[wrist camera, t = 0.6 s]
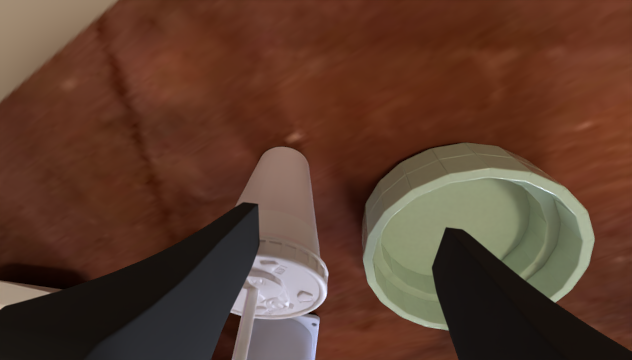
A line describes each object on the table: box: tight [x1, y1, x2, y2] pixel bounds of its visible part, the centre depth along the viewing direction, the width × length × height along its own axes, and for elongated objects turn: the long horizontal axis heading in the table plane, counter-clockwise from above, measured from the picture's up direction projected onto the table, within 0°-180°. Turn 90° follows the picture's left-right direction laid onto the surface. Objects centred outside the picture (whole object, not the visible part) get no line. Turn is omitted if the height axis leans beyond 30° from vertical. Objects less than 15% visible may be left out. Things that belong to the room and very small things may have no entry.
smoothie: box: [230, 147, 329, 360], centre depth 15 cm, size 6×6×14 cm
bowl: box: [362, 143, 595, 330], centre depth 20 cm, size 13×13×4 cm
